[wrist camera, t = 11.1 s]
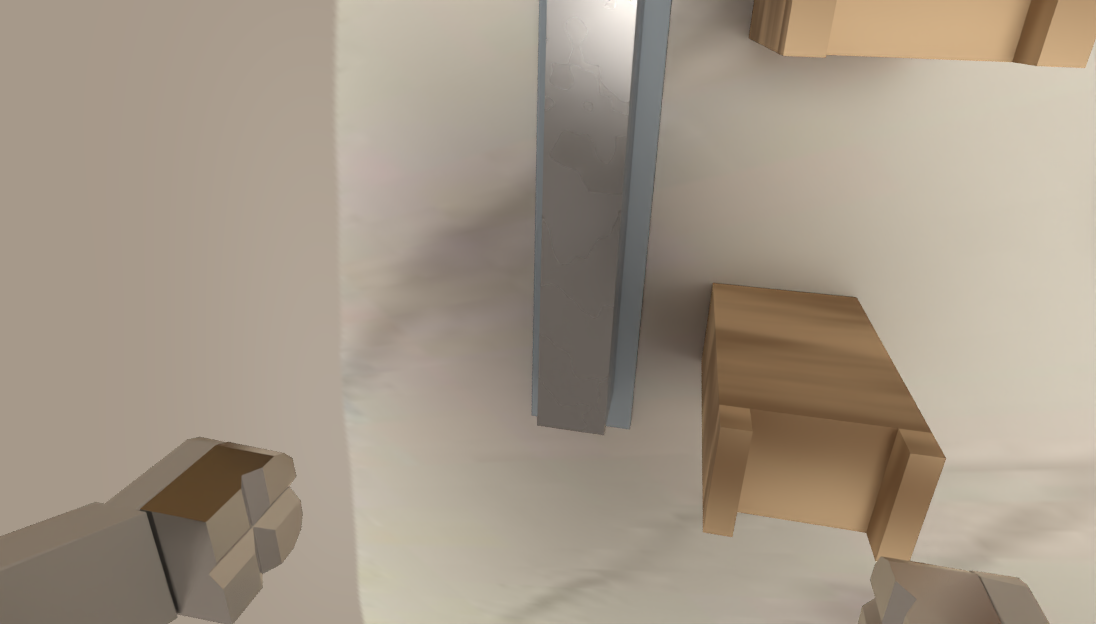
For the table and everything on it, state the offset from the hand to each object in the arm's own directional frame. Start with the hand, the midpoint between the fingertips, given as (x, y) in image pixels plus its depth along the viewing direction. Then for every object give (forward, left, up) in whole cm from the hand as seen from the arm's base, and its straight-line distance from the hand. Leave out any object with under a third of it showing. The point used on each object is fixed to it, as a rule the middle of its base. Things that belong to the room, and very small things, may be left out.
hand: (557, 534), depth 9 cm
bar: (+1, +2, -20) cm, 20 cm away
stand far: (-6, -6, -21) cm, 22 cm away
